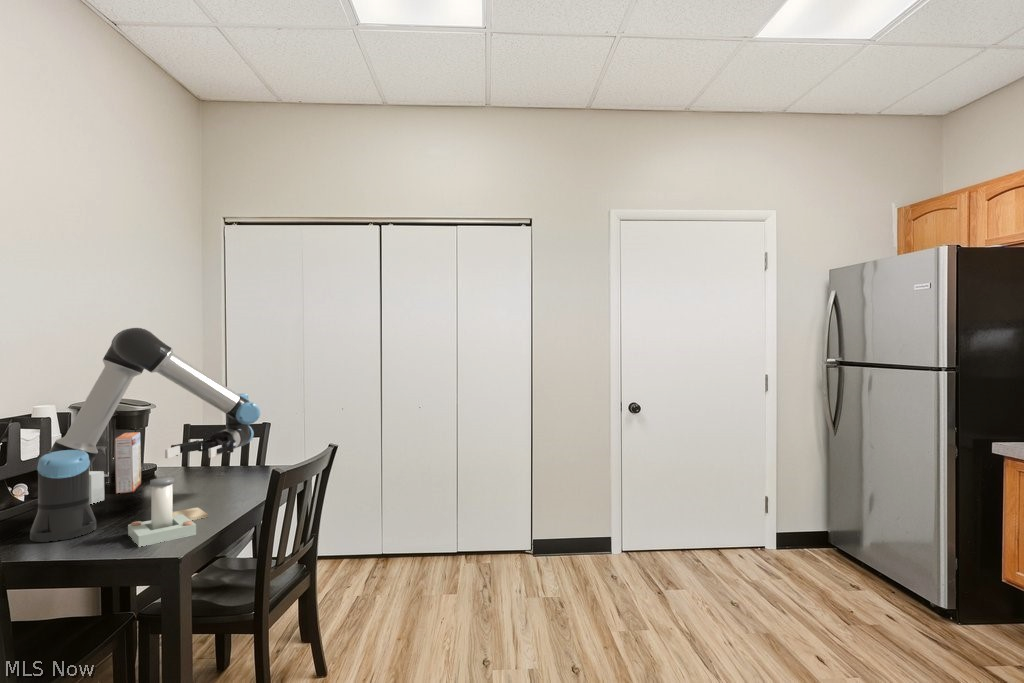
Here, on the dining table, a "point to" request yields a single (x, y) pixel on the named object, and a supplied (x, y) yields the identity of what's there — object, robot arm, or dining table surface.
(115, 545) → the dining table surface
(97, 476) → the small box
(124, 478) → the cracker box
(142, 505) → the dining table surface
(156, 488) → the cylinder
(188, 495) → the dining table surface
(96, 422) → the robot arm
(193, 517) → the board
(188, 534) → the frame
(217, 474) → the dining table surface
